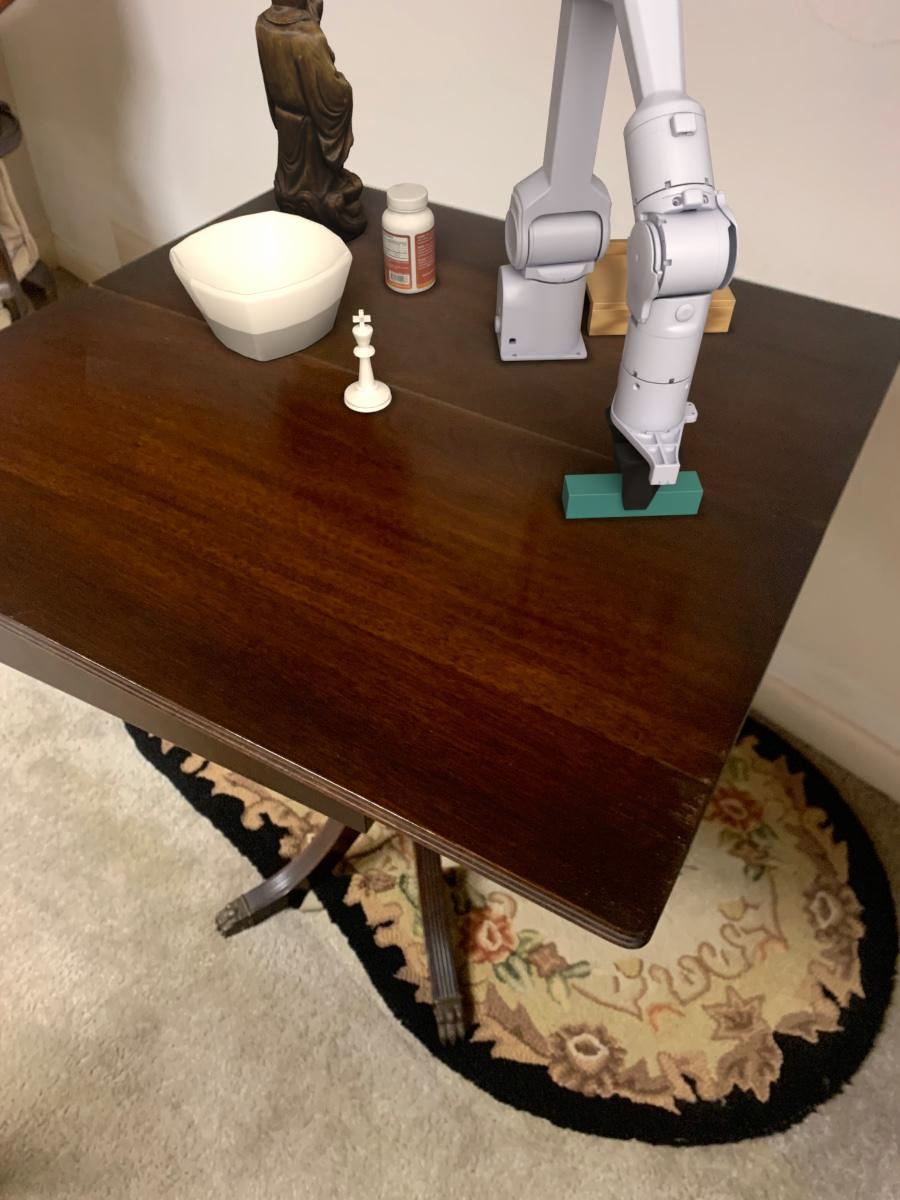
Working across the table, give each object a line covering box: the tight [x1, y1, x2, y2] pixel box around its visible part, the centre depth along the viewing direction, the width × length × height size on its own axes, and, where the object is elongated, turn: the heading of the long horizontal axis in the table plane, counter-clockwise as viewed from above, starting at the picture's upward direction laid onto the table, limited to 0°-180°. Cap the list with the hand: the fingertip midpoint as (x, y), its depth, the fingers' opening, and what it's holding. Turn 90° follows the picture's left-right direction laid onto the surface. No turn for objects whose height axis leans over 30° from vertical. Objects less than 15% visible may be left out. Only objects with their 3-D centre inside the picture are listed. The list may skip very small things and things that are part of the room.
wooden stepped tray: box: [585, 238, 737, 336], centre depth 103 cm, size 16×12×6 cm
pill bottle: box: [381, 182, 437, 295], centre depth 104 cm, size 6×6×11 cm
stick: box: [561, 470, 704, 520], centre depth 80 cm, size 12×3×3 cm, turn 93°
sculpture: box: [254, 0, 368, 243], centre depth 108 cm, size 12×13×30 cm
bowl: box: [168, 210, 353, 362], centre depth 98 cm, size 18×18×9 cm
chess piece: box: [343, 309, 392, 413], centre depth 88 cm, size 5×5×10 cm
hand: (631, 494), depth 80 cm, fingers open, 3 cm apart
